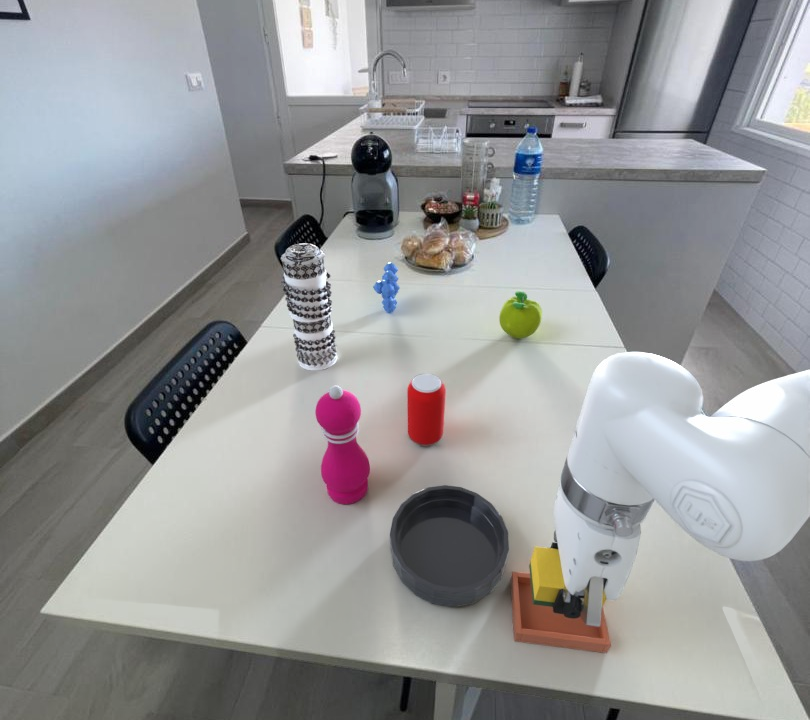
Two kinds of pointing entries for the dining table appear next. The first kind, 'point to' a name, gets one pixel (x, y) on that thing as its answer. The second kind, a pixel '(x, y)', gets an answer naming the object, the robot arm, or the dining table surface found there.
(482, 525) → the pan
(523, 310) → the fruit
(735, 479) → the robot arm
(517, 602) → the soap dish
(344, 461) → the pepper mill
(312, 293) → the decorative candle
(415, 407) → the beverage can
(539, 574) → the sponge
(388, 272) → the grapes
